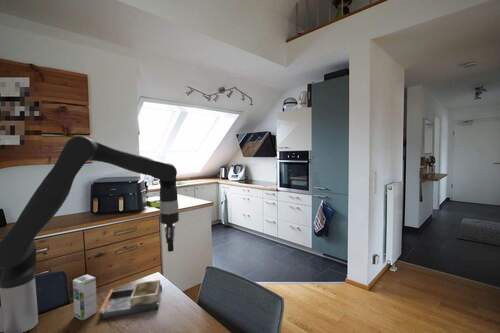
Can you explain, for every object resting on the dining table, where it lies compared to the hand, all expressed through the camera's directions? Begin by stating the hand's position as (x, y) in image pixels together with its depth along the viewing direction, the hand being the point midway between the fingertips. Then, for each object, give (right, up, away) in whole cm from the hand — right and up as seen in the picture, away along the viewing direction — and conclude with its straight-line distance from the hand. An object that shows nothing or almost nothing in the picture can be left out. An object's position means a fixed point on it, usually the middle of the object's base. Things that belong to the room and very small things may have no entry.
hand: (170, 250), depth 106 cm
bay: (-15, -21, -2) cm, 26 cm away
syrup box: (-30, -22, -9) cm, 38 cm away
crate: (-10, -21, -1) cm, 23 cm away
